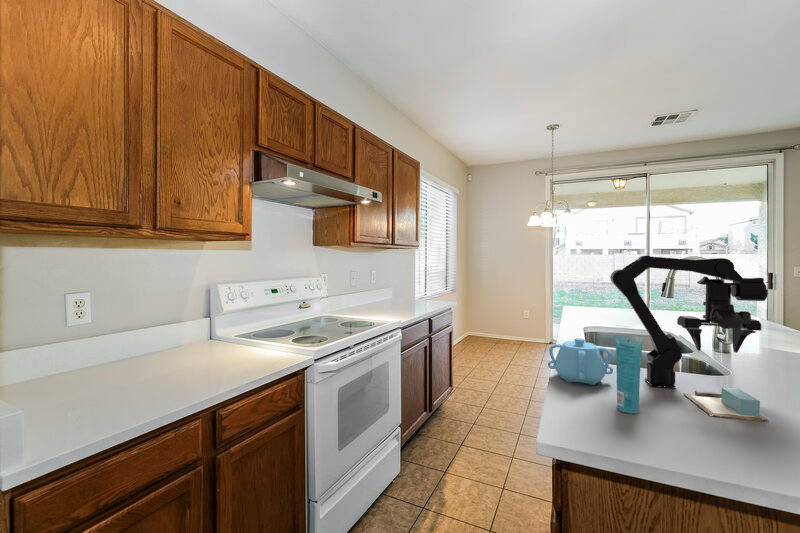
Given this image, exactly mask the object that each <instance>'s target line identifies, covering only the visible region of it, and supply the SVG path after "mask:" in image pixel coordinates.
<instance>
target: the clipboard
mask: <svg viewBox="0 0 800 533" xmlns="http://www.w3.org/2000/svg"><path fill="white" fill-rule="evenodd" d="M683 394H684V395H685V396H686V397H685V396H684V395H683ZM682 395H683V396H684V397H685V398H687V397H688V398H689V399H690V400H692V401H693V402H694V403H695V404H694V403H693V402H692V401H691V402H692V403H693V404H694V405H695V406H697V405H698V406H699V407H700V408H699V407H698V406H697V407H698V408H699V409H701V408H702V409H703V410H704V411H705V412H704V411H703V410H702V409H701V410H702V411H703V412H704V413H706V412H707V413H708V414H710V415H713V416H721V417H720V418H722V417H729V418H728V419H733V418H736V420H744V419H746V420H745V421H755V422H765V421H769V422H770V420H769V419H767V418H766V417H765V416H763V415H762V414H760V417H759V416H748V415H740V414H738V413H737V412H735V411H734V410H732V409H731V408H730V407H728V406H727V405H725V404H724V403H722V402H721V395H722V392H713V391H701V390H698V391H697V390H695V391H694V393H688V392H687V393H684V392H683V393H682ZM688 398H687V399H688ZM689 399H688V400H689ZM690 400H689V401H690ZM707 413H706V414H707ZM708 414H707V415H708ZM710 415H709V416H710Z"/></svg>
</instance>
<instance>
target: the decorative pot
mask: <svg viewBox="0 0 800 533" xmlns="http://www.w3.org/2000/svg"><path fill="white" fill-rule="evenodd" d="M573 340H574V341H571V340H568V341H564V342H563V343H562V344H559V343H553V344H552V345H551V346H550V347H549V349H548V350H549V351H548V352H549V356H550V359H551V360H549V361H548V363H547V367H548V368H549V369H550V370H555V372H556V373H557V374H558V375H559V377H560V378H561V379H564V380H565V382H566V383H570V384H571V383H572V384H573V383H575V382H576V383H585V384H587V385H591V386H596V385H597V384H598V383H600V382H601V381H602V380H603V379H604V378H605V376H606V375H612V374H613V372H614V369H613V368H612V366H610V363H611V360H612V357H613V356H612V352H611V350H609V349H608V348H606V347H603V346H601V347H600V346H599V347H597V345H595V344H594V343H591V342H586V339H584V338H579V337H575V338H573ZM556 348H559V350H558V352H557V354H556V356H554V349H556ZM601 351H603V352H606V353H607V359H606V361H604V358H603V356H602V355H601ZM551 364H552V365H551ZM607 369H609V370H607Z"/></svg>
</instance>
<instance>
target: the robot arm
mask: <svg viewBox="0 0 800 533" xmlns="http://www.w3.org/2000/svg"><path fill="white" fill-rule="evenodd" d="M648 269H661V270H674V271H682V272H683V271H685V272H693V273H696V274H700V275H705V276H702V278H701V279H700V280H698V281H697V282H696V284H698V285H703V286H704V285H705V300H704V301H703V302H702V304H703V306H705V307H704V308H705V311H704V314H703V315H702V318H699V317H697V316H694V315H679V316H678V318H676V319H677V320H676V322H677V325H678V326H681V327H682V328H683V329H685V330H686V331H687V332H688V334H689V336H690V338H691V339H692V342H693V344H694V345H695V348H696V350H697V351H698V352H699V351H701V349H702V339H701V338H702V337H701V333H702V332H703V329H702V328H700V327H702V326H710V327H711V326H713V327H720V328H722V329H726V330H729V329H731V333H732V350H733V353H736V354H737V353H738V352H739V351H740V348H741V347H742V344H743V343H744V342H745V340H746V338H747V337H748V336H750V335H751V334H754V333H756V331H762V323H761V321H759V320H758V319H755V318H752V314H751V313H750V312H749V311H743V310H742V311H735V306H734V304H733V303H732V301H731V300H732V299H731V297H733V298H735V299H736V300H737V301H748V302H749V301H750V302H765V301H766V300H767V298H768V296H769V291H768V289H767V285H766V283H765V282H764V281H765V280H764V279H765V278H763V277H751V278H750V277H743V276H741V274H739V272H738V271H737V270H736V269H735V264H734V263H733V261H731V260H730V259H729V258H724V257H723V258H722V257H711V258H709V257H708V258H697V259H695V258H694V259H689V258H677V257H676V258H674V257H673V258H672V257H661V256H659V257H658V256H651V255H640V256H639V257H638V258H637V259H636V260H634V261H633V262H631V263H630V264H628V265H626V266H624V267H623V268H620V269H619V268H618V269H616V270H614V271H613V272H612V273H611V275H610V282H612V284H613V285H614V287H615V288H616V289H617V290H618V291H619V292H620V293H621V294H622V295H623V296H624V297H625V298H626V301H628V303H629V305H630V306H631V308H632V309H633V311H634V313H635V314H636V316H637V317H638V319H639V320H640V322H641V324H642V325H643V327H644V329H645V330H646V332H647V334H648V335H649V337H650V338H649V339H650V342H651V344H652V347H653V349H652V350H651V351H649V352H648V353H646V358H647V359H648V360H647V361H649V362H647V363H646V377H645V378H644V380H645V382H647V381H648V382H649V383H650V384H651V385H652V386H651V385H650V384H649V383H648V382H647V383H648V384H649V385H650V386H651V387H654V386H661V387H660V388H667V387H676V371H675V370H674V369H675V368H674V367H675V365H676V364H677V363H679V362H680V361H681V359H682V357H683V353H682V351H683V348H682V347H681V346H680V345H679V344H678V341H677V339H676V337H675V336H674V335H673V334H671V333H667V334H666V333H665V332H664V331H663V329H662V327H660V324H659V323H658V321H657V320H656V318H655V316H654V315H653V313H652V312H651V310H650V309H649V307H648V305H647V304H646V303H645V301H644V300H643V298H642V296H641V294H640V292H639V289H638V287H637V283H636V280H635V279H636V278H638V277H639V276H640V275H642V273H644V272H645V271H647V270H648ZM708 276H710V277H714V278H709V277H708ZM715 278H716V279H715ZM724 280H725V281H731V282H724ZM664 386H665V387H664Z"/></svg>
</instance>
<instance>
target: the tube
mask: <svg viewBox="0 0 800 533" xmlns="http://www.w3.org/2000/svg"><path fill="white" fill-rule="evenodd" d="M614 340H615V360H616V363H615V364H616V408H617V409H618V411H620V412H623V413H625V414H638V413H639V410H640V380H641V365H642V364H641V363H642V353H643V344H644V341H641V340H640V341H639V340H636V339H631V338H627V337H622V336H618V335H615V338H614Z"/></svg>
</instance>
